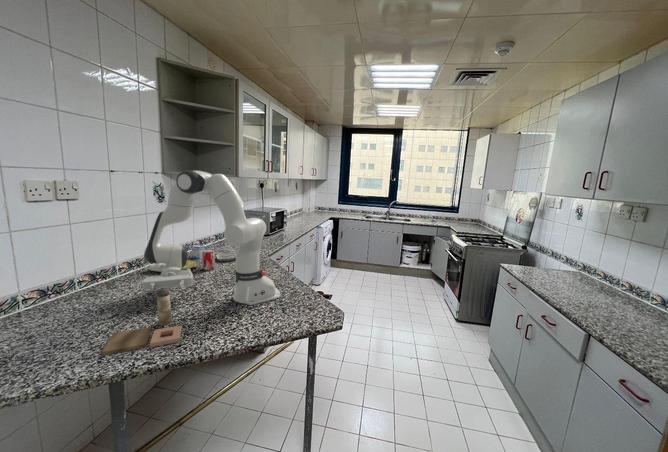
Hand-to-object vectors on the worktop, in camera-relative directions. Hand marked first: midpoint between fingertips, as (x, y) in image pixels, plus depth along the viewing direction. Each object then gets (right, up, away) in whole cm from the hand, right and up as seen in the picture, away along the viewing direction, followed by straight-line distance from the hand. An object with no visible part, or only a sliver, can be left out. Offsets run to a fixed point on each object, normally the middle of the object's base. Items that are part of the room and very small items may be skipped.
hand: (166, 287), depth 121 cm
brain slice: (-2, +3, +77) cm, 77 cm away
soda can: (-6, 0, +54) cm, 54 cm away
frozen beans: (-26, -1, +50) cm, 57 cm away
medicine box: (-24, +4, +76) cm, 80 cm away
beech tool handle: (+5, -12, -9) cm, 16 cm away
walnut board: (0, -14, -22) cm, 26 cm away
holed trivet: (+12, -14, -19) cm, 27 cm away
